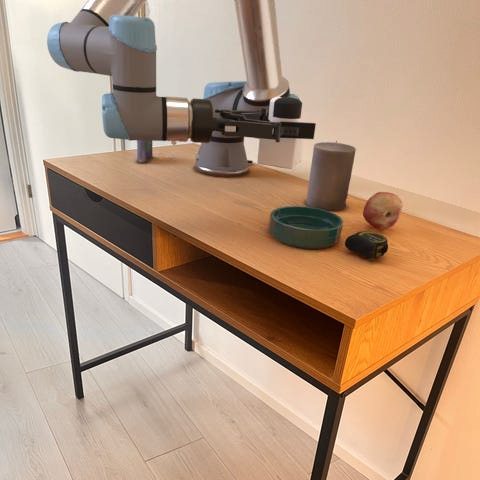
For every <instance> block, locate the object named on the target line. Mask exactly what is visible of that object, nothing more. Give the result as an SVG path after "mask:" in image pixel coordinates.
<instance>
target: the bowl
mask: <svg viewBox="0 0 480 480" xmlns="http://www.w3.org/2000/svg"><path fill="white" fill-rule="evenodd" d="M343 225H344V220H343V219H342V217H341V216H339V215H337V214H336V213H334V212H333V211H330V210H323V209H319V208H314V207H311V206H308V205H307V206H306V205H305V206H304V205H287V206H281V207H277V208H274V209H272V211H271V212H270V214H269V222H268V233H269V235H270V236H271V237H273V238H274V240H276V241H278V242H279V243H281V244H283V245H286V246H289V247H294V248H297V249H306V250H319V249H327V248H329V247H330V248H331V247H332V246H333V245H334V246H335V245H336V244H337V243H339V242H340V240H341V237H342V232H343V227H344V226H343Z"/></svg>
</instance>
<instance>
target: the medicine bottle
mask: <svg viewBox="0 0 480 480" xmlns="http://www.w3.org/2000/svg"><path fill="white" fill-rule="evenodd" d="M299 99H300V98H299ZM299 99H296V98H291V97H274V98H272V99H271V100H270V107H269V118H268V119H269V120H270V122H280V121H284V122H301V117H302V110H303V109H302V108H303V102H302V101H301V99H300V100H299ZM273 130H274V128H273ZM272 133H273V132H272ZM258 140H259V141H258V153H257V165H262V166H268V167H274V168H279V169H287V170H293V169H294V168H295V167H296V166H298V165H299V164H300V163H301V162H302V155H303V150H304V149H303V148H304V141H305V139H296V138H280V142H276V140H273V139H262V138H260V139H258Z"/></svg>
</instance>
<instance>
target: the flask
mask: <svg viewBox="0 0 480 480" xmlns="http://www.w3.org/2000/svg"><path fill="white" fill-rule="evenodd" d="M136 149H137V154H136V155H137V163H138V164H146V163H147V162H149V161H150V160H152V159H153V157H154V156H153V155H154V153H153V141H145V140H136Z"/></svg>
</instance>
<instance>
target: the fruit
mask: <svg viewBox="0 0 480 480" xmlns="http://www.w3.org/2000/svg"><path fill="white" fill-rule="evenodd" d="M403 206H404V205H403V201H402V198H401V197H399V196H398V195H397V194H395V193H393V192H389V191H388V192H387V191H378V192H376V193H374V194H373V195H371V196H370V197H369V198H368V199H367V201H366V203H365V205H364V207H363V211H362V217H363V218H364V220H365V221H366V222H367V224H369V226H370V227H372V228H373V229H375V230H379V231H384V230H387V229H390V228H392V227H393V226H395V225H396V224H397V222H398V221H399V219H400V217H401V214H402V210H403Z"/></svg>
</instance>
